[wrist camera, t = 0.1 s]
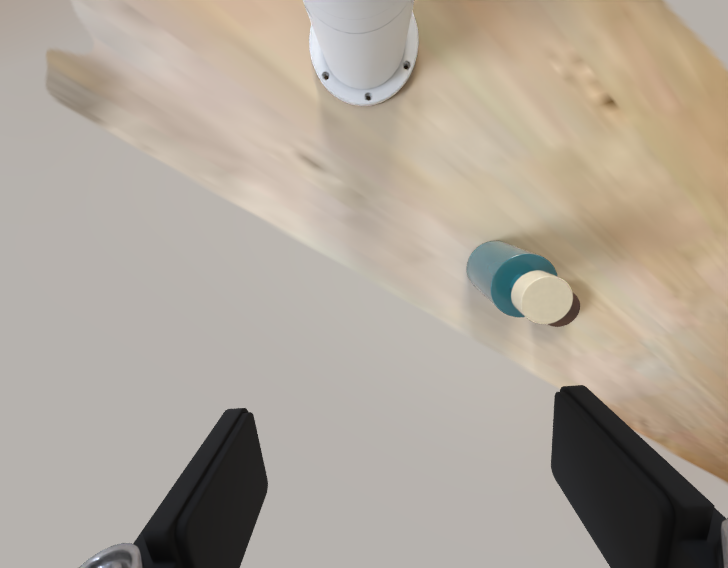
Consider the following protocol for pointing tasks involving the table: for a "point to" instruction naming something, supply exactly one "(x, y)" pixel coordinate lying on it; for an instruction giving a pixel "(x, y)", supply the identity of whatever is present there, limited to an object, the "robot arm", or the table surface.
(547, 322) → the bottle
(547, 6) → the table surface
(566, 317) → the brown round puck
